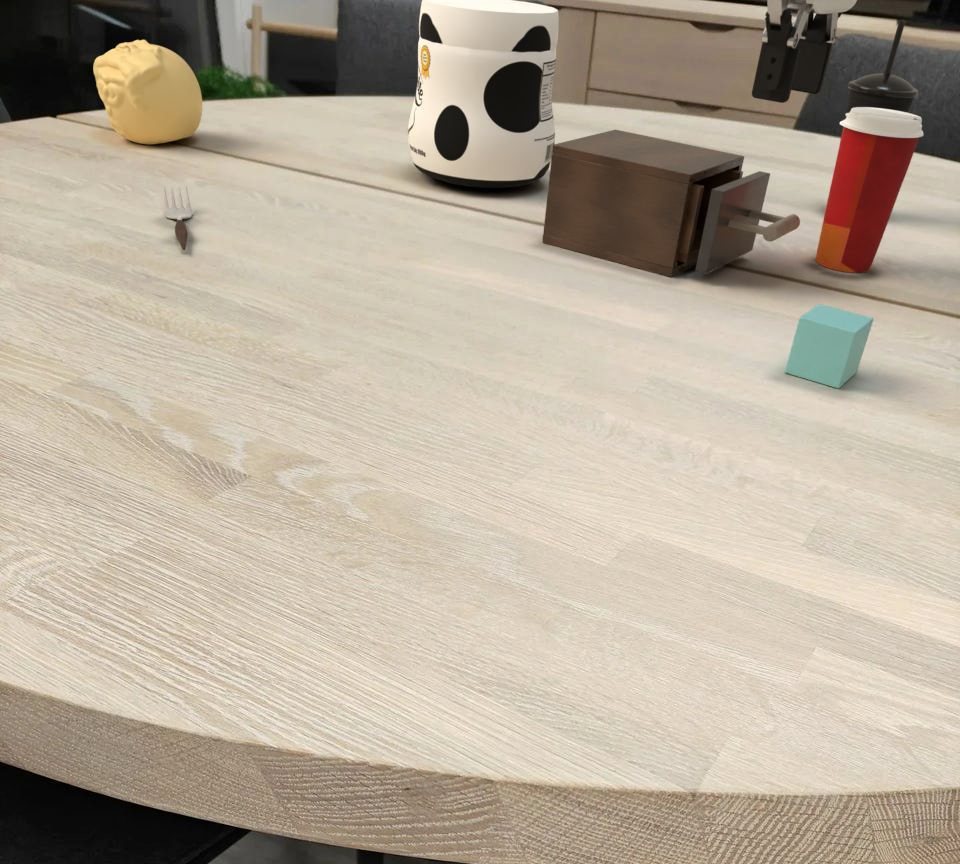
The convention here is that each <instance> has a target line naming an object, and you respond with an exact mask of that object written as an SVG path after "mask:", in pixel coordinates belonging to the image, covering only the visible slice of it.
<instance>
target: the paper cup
mask: <svg viewBox="0 0 960 864" xmlns="http://www.w3.org/2000/svg"><path fill="white" fill-rule="evenodd" d="M845 113H846V112H845ZM846 116H847V117H846V119H845V118H844V119H845V120H844V119H843V120H841V121H840V122H839V125H840V126H842V129H843V132H842V131H841V135H842V136H840V140H841V141H840V140H839V146H838V151H837V155H836V160H835V165H834V169H833V174H832V179H831V183H830V187H829V193H828V196H827V201H826V205H825V206H826V207H825V210H824V214H823V215H824V216H823V220H822V225H821V230H820V234H819V239H818V245H817V249H816V254H815V255H816V256H815V262H816V263H817V264H818V265H820V266H822V267H825V268H827V269H830V270H833V271H834V270H835V271H837V272H846V273H864V272H869V271H870V269H871V267H872V266H873V263H874V260H875V258H876V255H877V253H878V250H879V247H880V245H881V242H882V239H883V236H884V234H885V232H886V228H887V226H888V223H889V220H890V218H891V215H892V212H893V210H894V207H895V204H896V202H897V198H898V196H899V193H900V191H901V188H902V185H903V183H904V180H905V177H906V175H907V173H908V170H909V167H910V164H911V162H912V159H913V156H914V153H915V150H916V147H917V145H918V142H919V140H920V138H922V137H924V135H925V134H924V131H923V129H922V128H923V125H922V123H923V121H922V120H923V119H922V117H921V116H919V115H916V114H913V113H910V112H908V113H906V112H902V111H896V110H890V109H883V108H872V107H855V108H852V109H851V111H850V113H846ZM843 126H844V127H843Z"/></svg>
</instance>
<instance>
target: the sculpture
mask: <svg viewBox="0 0 960 864" xmlns="http://www.w3.org/2000/svg"><path fill="white" fill-rule="evenodd" d="M92 67H93V69H92V70H93V76H94V78H95V82H96V83H95V84H96V89H97V91H98V96H99V98H100V99H101V101H102V102H103V105H104V108H105V112H106V115H108V121H109V124H110V126H111V128H112V129H114V130H115V131H116V132H117V133H118V134H119V135H121V136H122V137H123V138H125V139H126V140H128V141H131V142H134V143H137V144H143V145H159V144H165V143H171V142H174V141H179V140H183V139H187V138H189V137H192V136H193V135H194V134H195V133H196V132H197V131H198V128H199V126H200V124H201V120H202V117H203V95H202V90H201V87H200V84H199V81H198V79H197V76H196V75H195V73H194V71H193V70H192V68H191V66H190V65H189V64H188V63H187V62H186V60H185V59H184V58H182V57H181V56H180V55H179V54H177V53H176V52H174V51H173V50H171V49H169V48H167V47H165V46H161V45H158V44H152V43H149V42H148V41H147V39H141V40H140V39H136V40H133V41H130V42H126V41H125V42H121V43H118V44H117V45H116V46H115V48H112V49H110V50H108V51H107V52H105V53H104V54H102V55H99V56H97V57H96V58H95V59H94V62H93V66H92Z"/></svg>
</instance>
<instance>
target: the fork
mask: <svg viewBox="0 0 960 864" xmlns="http://www.w3.org/2000/svg"><path fill="white" fill-rule="evenodd" d="M163 194H164V196H163V197H164V216H165V217H166V218H168V219H170V220H176V223H175V226H174V234H175V236H176V238H177V241H178V242H179V245H180V247H181V249H182V251H186V247H187V238H188V234H189V233H188V228H187V226H186V224H185V223H184V221H183V220H189V219H192V216H193V211H192V207H191V202H190V198H189V192H188V186H185V198H186V199H185V200H186V201H185V202H186V208H185V207H184V204H183V203H184V202H183V199H182V193H181V189H180V187H178V205H179V207H178V208H177V205H176V199H175V194H174V190H173V186H171V208H170V206H169V202H168V201H169V200H168V197H167V189H166V186H163Z"/></svg>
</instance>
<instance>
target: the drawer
mask: <svg viewBox="0 0 960 864" xmlns="http://www.w3.org/2000/svg"><path fill="white" fill-rule="evenodd" d="M743 174H744V171H742V170H741V171H738V170H734V169H729V170H726V171H724V172H721V173H718V174H715V175H712V176H710V177H707V178H704V179H701V180H698V181H696V182H693V183H692V186H691V191H690V197H689V202H688V207H687V212H686V218H685V223H684V228H683V233H682V239H681V244H680V249H679V254H678V260H677V261H680V262H684V263H687V262H689V261H691V260H693V259H695V258H697V257H698V260H697V264H696V265H695V270H694V271H695V272H696V273H700V274H704V275H707V274H709V273H711V272H713V271H715V270H717V269H718V268H721V267H722V266H725V265H727V264H728V263H729V264H730V262H732V261H734V260H736V259H739V258H740V257H742V256H744V255H746V254H748V253H750V252H752V251H753V250H754V245H755V241H756V237H757V234H758V235H761V236H762V237H763V239H764V240H765V241H766V242H769V243H771V242H774V241H775V240H778V239H780V238H781V237H784V236H786V235H787V234H789V233H791V232H793V231H795V230H797V229H798V228H799V227H800V225H801V218H800V217H799V216H798V214H789V215H787V216H786V217H784V216H780V215H776V214H773V213H767V212H764V211H763V207H764V203H765V198H766V194H767V190H768V185H769V181H770V177H771V173H770V172H766V171H761V170H760V171H756V172H753V173H751V174H749V175H745V176H743ZM760 221H764V222H767V223H771V224H769V225H766V226H763V225H760Z"/></svg>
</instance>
